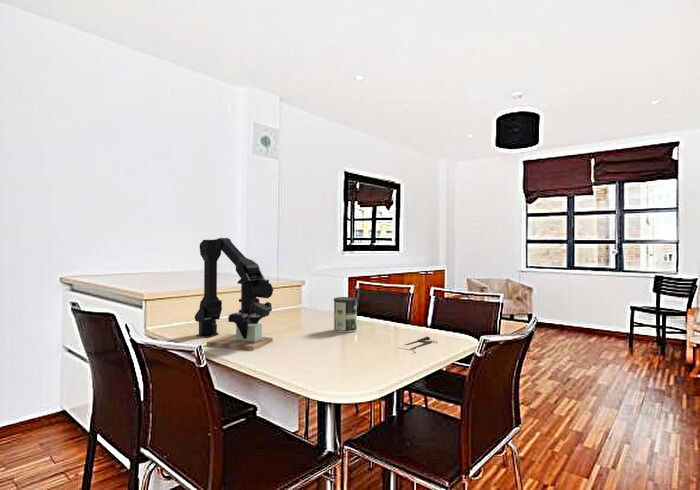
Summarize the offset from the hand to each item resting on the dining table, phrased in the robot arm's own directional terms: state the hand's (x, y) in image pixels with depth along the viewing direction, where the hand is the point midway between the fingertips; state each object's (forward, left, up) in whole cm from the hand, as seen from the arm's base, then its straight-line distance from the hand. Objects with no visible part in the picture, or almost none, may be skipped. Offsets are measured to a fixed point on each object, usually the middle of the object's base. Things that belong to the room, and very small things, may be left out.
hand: (248, 337), depth 163 cm
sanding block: (0, 0, -1) cm, 1 cm away
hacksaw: (+62, +19, -4) cm, 65 cm away
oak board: (-4, 0, -3) cm, 5 cm away
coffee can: (+26, +36, -3) cm, 45 cm away
